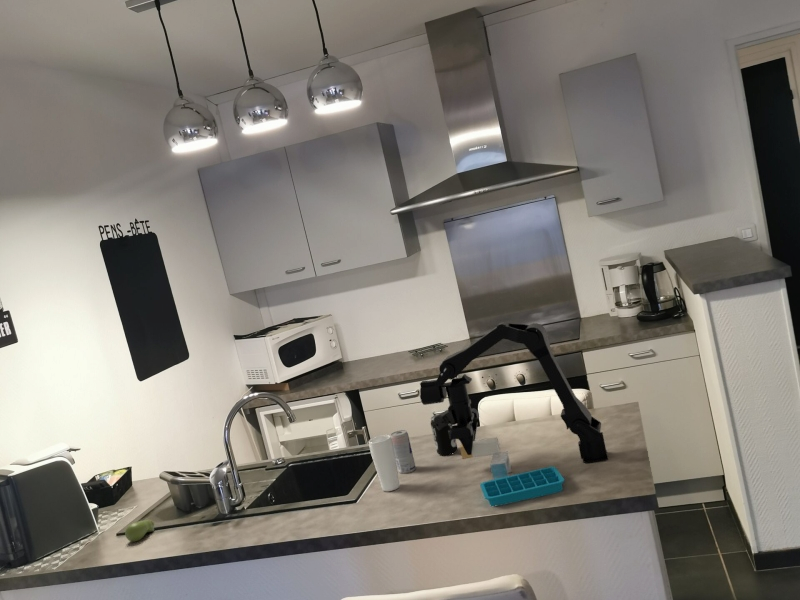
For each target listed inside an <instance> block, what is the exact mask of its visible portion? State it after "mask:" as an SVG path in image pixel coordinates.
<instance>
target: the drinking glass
mask: <svg viewBox="0 0 800 600" xmlns="http://www.w3.org/2000/svg"><path fill="white" fill-rule="evenodd" d="M368 446H369V451H370V455H371V457H372V461H373V464H374V467H375V470H376V473H377V476H378V479H379V483H380V486H381V490H382V491H383V492H392V491H395V490H397V489H398V488H400V486H401V483H400V479H399V470H398V466H397V462H396V458H395V451H394V446H393V442H392V439H391V434H390V435H389V434H383V435H377V436H375V437H372V438H370V439H369V440H368Z"/></svg>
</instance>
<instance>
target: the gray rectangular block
mask: <svg viewBox="0 0 800 600" xmlns="http://www.w3.org/2000/svg"><path fill="white" fill-rule="evenodd" d="M491 456H492V457H491V460H490V464H489V465H490V470H491V471H490V472H491V474H492V480H495V479H499V478H503V477H508V476H510V475H509V473H512V466H511V462H510V457H509V452H508V450H505V451H499V452H498V453H493V455H491Z"/></svg>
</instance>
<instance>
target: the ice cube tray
mask: <svg viewBox="0 0 800 600" xmlns="http://www.w3.org/2000/svg"><path fill="white" fill-rule="evenodd" d="M564 482H565V478H564V477H563V476H562V474H561V473H560V471H559V469H557V467H556V466H547V467H544V468H538V469H534V470H530V471H526V472H521V473H517V474H513V475H509V476H508V477H503V478H499V479H495V480H493V479H492V480H491V479H490V480H487V481H483V482H481V483H480V484H479V485H480V488H481V492H482V494H483V497H484V500H488V503H489V505H491V506H490V507H492V506H495V505H500V506H502V505H501V504H504V505H507V504H506V503H509V504H512V503H511V502H513V503H516V502H515V501H518V502H521V501H520V500H522V501H525V499H526V500H530V498H531V499H534V498H539V497H542V496H548V495H551V494H557V493H560V492H562V491H563V483H564ZM495 507H496V506H495Z"/></svg>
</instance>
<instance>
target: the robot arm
mask: <svg viewBox="0 0 800 600" xmlns="http://www.w3.org/2000/svg"><path fill="white" fill-rule="evenodd" d="M502 340H507V341H511V342H513V343H517V344H523V345H524V346H525V347H526V349H527V350H528V351H529V352H530V354H531V355H533V356H534V357H535V359H537V361H538V362H539V364H540V366H541V367H542V369H543V371H544V373H545V375H546V377H547V379H548V380H549V383H550V384H551V386H552V388H553V390H554V391H555V393H556V396H557V397H558V399H559V401H560V403H561V404H562V407H563V408H562V410H561V412H560V418H561V419H562V420H563V423H565V427H566V430H569V431H570V432H571V433H572V434H573V435H576V436H577V437H578V439H579V441H578V443H577V444H578V449H579V453H580V458H581V459H582V460H583V461H582V463H583V464H588V463H595V462H602V461H608V460H609V455H608V450H607V448H606V443H605V438H604V433H603V431H601V430H602V429H601V428H602V422H601V421H600V420H599V419H597V418H595V417H593V416H592V413H591V412H590V411H589V409H588V408H587V407H586V406H585V403H583V401H581V400H580V399H579V398H578V397H577V396H576V395H575V393H574V390H573V389H572V386H571V385H570V384H569V381H568V380H567V377H566V376H565V374H564V372H563V371H562V368H561V366H560V365H559V363H558V361H557V359H556V357H555V355H554V353H553V351H552V348H551V343H550V340H549V336H548V333H547V330H546V328H545V326H543V324H540V323H537V322H536V323H535V322H533V323H530V324H526V323H511V322H506V321H502V322H499V323H498V324H497V325H496V327H494V328H493V329H491V330H490V331H488V332H487V333H486V334H484V335H482V336H481V337H479V339H478V340H475V342H473V343H472V344H470V345H469V346H468V347H466V348H463V349H461V350H459V351H456V352H454V353H452V354H450V355H448V356H447V357H446V358H445V359H444V360H442V362H440V365H439V368H438V369H439V375H438V377H437V378H436V379H431V380H421V382H420V383H419V385H420V389H419V391H420V395H419V397H420V401H421V403H422V405H423V406H424V405H425V406H427V405H433V404H440V403H444V401H445V399H448V403H449V406H448V407H447V409H446V410H444V411H443V412H440V413H439V415H438V414H436V415H437V416H435V415H434V416H435V417H434V419H433V423H434V427H437V429H438V430H441V429H442V428H443V427H444V426H446V425H448V424H450V423H451V425H452V427H451V429H450V431H449V438H450V440H454V439H456V440H458V441H460V444H461V443H462V445H463V447H464V449H465V451H466V453H467V455H471V454H472V447H473V441H476V436H477V428H478V425H479V423H478V421H473V420H474V419H475V420H479V418H480V414H479V410H478V409H476V408H472V406H471V404H472V400H471V398H470V397H469V394H468V389H467V385H468V384H470V383H471V382H472V380H473V379H472V378H471V377H470V376H468V375H467V374H465V373H464V374H463V375H462V377H458V376H459V375H460V374H461V372H464V370H465V368H467V366H469V364H470V363H472V362H473V360H475V359H477V358H478V357H480V356H481V355H482V354H484V353H485V352H487V351H488V350H489V349H491V348H492V347H494V346H495V345H497V344H498V343H499V342H501V341H502ZM449 380H451V381H449ZM447 381H448V382H447Z"/></svg>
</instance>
